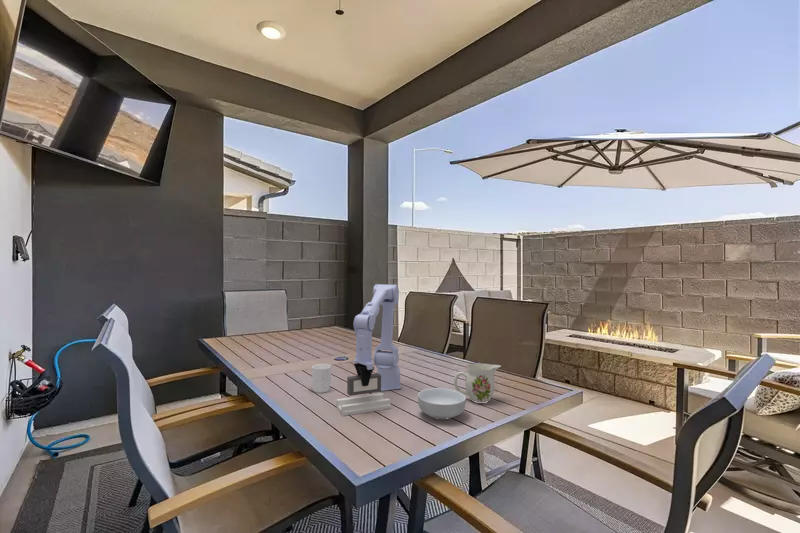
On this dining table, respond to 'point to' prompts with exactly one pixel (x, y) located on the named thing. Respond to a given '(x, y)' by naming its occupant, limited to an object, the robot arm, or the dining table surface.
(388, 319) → the robot arm
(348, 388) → the grey rectangular block
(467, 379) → the pitcher
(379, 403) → the ledge
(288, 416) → the dining table surface
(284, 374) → the dining table surface
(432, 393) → the cereal bowl
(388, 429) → the dining table surface
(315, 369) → the white cup
